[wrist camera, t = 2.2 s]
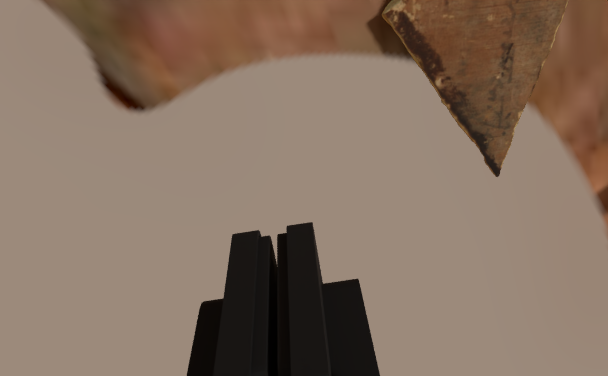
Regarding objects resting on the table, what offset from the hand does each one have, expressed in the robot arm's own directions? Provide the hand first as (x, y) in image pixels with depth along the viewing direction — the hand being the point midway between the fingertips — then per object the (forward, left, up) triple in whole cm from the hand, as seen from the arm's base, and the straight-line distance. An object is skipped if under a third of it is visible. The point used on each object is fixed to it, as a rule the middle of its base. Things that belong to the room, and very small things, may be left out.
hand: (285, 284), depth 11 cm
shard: (-1, +10, -15) cm, 18 cm away
